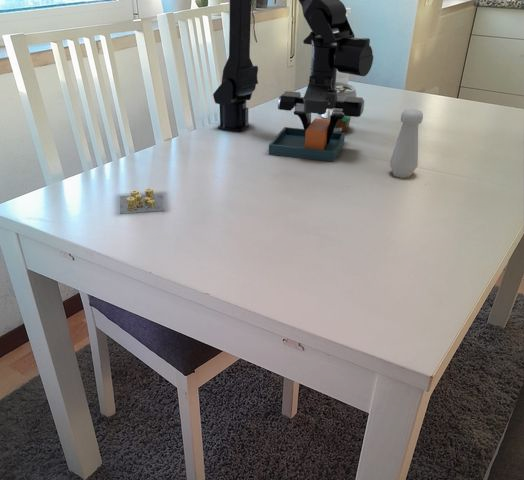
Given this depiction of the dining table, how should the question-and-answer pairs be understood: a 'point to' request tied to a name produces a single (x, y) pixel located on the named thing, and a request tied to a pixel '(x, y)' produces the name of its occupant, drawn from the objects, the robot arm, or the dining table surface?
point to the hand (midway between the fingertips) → (318, 142)
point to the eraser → (317, 134)
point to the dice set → (141, 202)
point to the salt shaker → (406, 144)
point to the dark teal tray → (294, 145)
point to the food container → (342, 94)
